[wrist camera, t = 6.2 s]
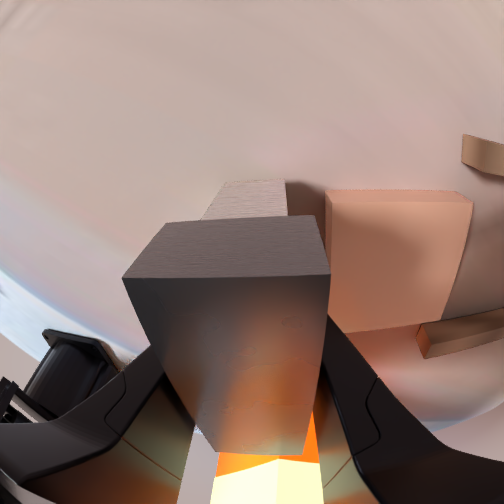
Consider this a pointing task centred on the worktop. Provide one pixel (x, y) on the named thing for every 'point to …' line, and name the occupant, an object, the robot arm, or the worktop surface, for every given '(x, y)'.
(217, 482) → the orange juice
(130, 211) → the worktop surface
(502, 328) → the bay
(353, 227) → the tile
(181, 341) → the grey block
